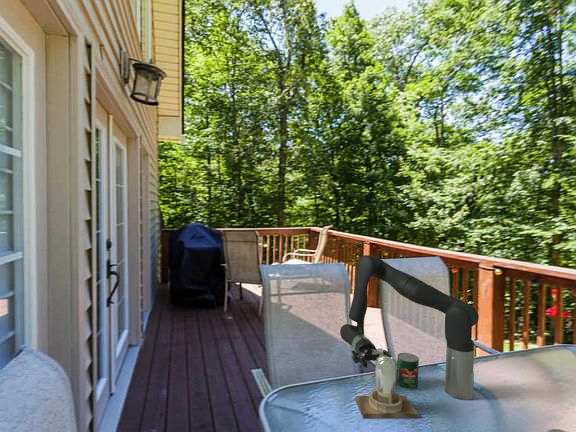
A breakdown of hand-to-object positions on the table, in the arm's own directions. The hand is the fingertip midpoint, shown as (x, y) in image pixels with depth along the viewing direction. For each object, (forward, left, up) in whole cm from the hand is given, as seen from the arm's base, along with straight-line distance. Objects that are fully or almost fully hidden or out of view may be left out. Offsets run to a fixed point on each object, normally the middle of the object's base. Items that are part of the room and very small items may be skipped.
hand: (378, 365), depth 129 cm
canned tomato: (-9, -14, -12) cm, 20 cm away
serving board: (-4, +7, -11) cm, 14 cm away
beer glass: (-4, +7, -10) cm, 13 cm away
